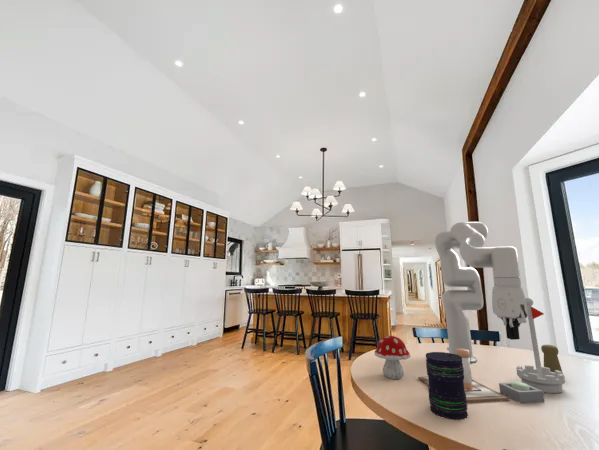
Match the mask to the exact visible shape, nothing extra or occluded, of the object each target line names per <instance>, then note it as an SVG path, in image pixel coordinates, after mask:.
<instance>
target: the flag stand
mask: <svg viewBox="0 0 599 450" xmlns="http://www.w3.org/2000/svg"><path fill="white" fill-rule="evenodd" d="M525 299H526V304H527V311H528V316H527V318H528V326H529V331H530V337H531V338H530V339H531V344H532V345H531V346H532V351H533V357H534V364H535V368H534V365H529V364H527V365H524V368H523V366H521V365H518V366H516V369H515V370H516V375H517V377H518V378H520V379H521V381H520V382H522V383H525V384H528V385H530V386H532V387H534V388H537V389H539V390H542V391H543V393H549V394H561V393H562V392H563V391H564V389H563V385H564V384H566V379H565V374H564V373H562V372H563V371H562V372H561V371H558V370H555V373H554V372H551V371H550V368H546V367H544V366H542V362H541V357H540V351H539V343H538V339H537V330H536V326H535V319H536V318H538V317H541V316H544V315H545V313H544V312H542V311H540V310H539V309H537V308H535V307H532V306H533V305H534V301H533V299H532V298H530V297H525Z"/></svg>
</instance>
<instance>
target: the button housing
mask: <svg viewBox="0 0 599 450" xmlns="http://www.w3.org/2000/svg"><path fill="white" fill-rule="evenodd" d="M520 382H521V383H522V381H520ZM498 386H499V393H500V394H502V395H504V396H506V397H508V398H509V399H512V400H514V401H515V402H517V401H518V402H517V403H519V402H520V404H528V403H529V402H531V403H543V402H544V403H545V396H544V392H543V391H542V390H539V389H537V388H534V387H532V386H530V385H529V390H522V391H519V390H517V389H515V388H512V386H511V382H499V383H498ZM529 404H530V403H529Z"/></svg>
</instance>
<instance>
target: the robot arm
mask: <svg viewBox="0 0 599 450" xmlns="http://www.w3.org/2000/svg"><path fill="white" fill-rule="evenodd" d="M488 235H489V229H488V227H487V225H486V224H485V223H483V222H481V221H463V222H461V221H460V222H456V223H455V224H453V225H452V226H451V228H450V231H441V232H439V233H437V234H436V235H435V238H434V245H435V249H436V252H437V253H438V254H437V255H438V256H439V260H440V265H441V266H440V267H441V275H442V280H443V283H444V285H445V286H446V287H449V288H467V289H449V290H445V291H444V292H443V293H442V295H441V300H442V305H443V308H444V313H445V320H446V330H447V340H448V347H447V348H446V350H447V351H448V353H451V354H456V349H458V348H462V349H467V350H469V355H470V357H469V358H470V364H474V363H477V362H478V359H477V357H476V356H474V354H473V346H472V336H471V326H470V320H469V319H468V317H467V315H466V314H465V313H464V311H479V310H482V309H483V307H484V294H483V288H482V282H481V277H480V274H479V272H478V271H477V269H478V268H479V269H481V268H482V269H483V268H484V269H485V268H489V269H491V268H492V276H493V286H492V292H491V302H492V303H491V304H492V305H491V306H492V313H493V314H494V315H495V316H497V318H498V319H500V320H502V321H503V322H502V323H503V325H504V326H505V330H506V331H505V334H506V338H507V339H509V340H520V339H521V337H520V329H519V328H520V327H521V324H526V323H527V318H528V311H527V304H526V299H525V298H526V296H525V293H524V289H523V287H522V281H521V272H520V265H519V263H520V262H519V255H518V250H517V248H516V247H514V246H511V245H509V246H507V245H506V246H492V247H491V246H487V247H485V246H484V244H485V240H486V239H487V238H488ZM453 249H459V250H458V251H459V254H460V257H461V260H462V261H464V263H466V265H468V266H467V267H463V266H461V260H460V257H459V255H458V254H457V253H456V252H455V251H454V250H453ZM475 268H477V269H475Z"/></svg>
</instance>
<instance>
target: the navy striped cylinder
mask: <svg viewBox="0 0 599 450" xmlns="http://www.w3.org/2000/svg"><path fill="white" fill-rule="evenodd" d="M425 358H426V359H425V362H426V363H425V365H426V374H427V376H428V378H429V386H428V388H427V389H428V400H429V405H430V406H429V409H430V412H431V413H432V414H434V415H435V416H436V417H439V416H440V417H439V418H442V417H443V418H442V419H446V420H451V419H452V420H451V421H461V420H460V419H463V420H466V419H467V418H468V417H469V413H468V403H467V400H466V393H465V391H464V381H463V380H464V368H463V363H462V357H461V356H459V355H456V354H451V353H449V352H442V351H431V352H427V353H426V354H425ZM467 416H468V417H467ZM465 418H466V419H465Z"/></svg>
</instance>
